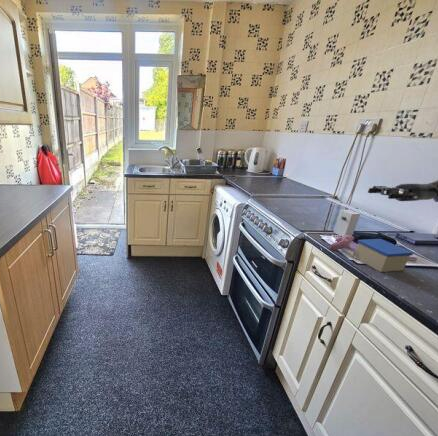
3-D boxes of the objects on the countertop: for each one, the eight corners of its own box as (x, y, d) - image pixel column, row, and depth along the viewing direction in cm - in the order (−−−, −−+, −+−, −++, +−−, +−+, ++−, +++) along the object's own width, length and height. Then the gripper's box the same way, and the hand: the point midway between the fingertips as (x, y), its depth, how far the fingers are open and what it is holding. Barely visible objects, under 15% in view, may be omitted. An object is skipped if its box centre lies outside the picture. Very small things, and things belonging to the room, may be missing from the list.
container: (404, 270, 83) (413, 252, 81) (380, 272, 82) (388, 254, 79) (373, 255, 93) (380, 238, 90) (351, 256, 92) (357, 239, 89)
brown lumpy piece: (338, 255, 95) (353, 244, 90) (327, 247, 97) (341, 235, 93) (344, 248, 101) (359, 237, 97) (334, 240, 103) (348, 229, 99)
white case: (351, 237, 108) (360, 213, 104) (342, 237, 107) (351, 214, 103) (341, 232, 113) (348, 209, 109) (332, 232, 112) (339, 209, 108)
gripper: (396, 180, 112) (365, 180, 110) (434, 188, 99) (400, 189, 97) (390, 196, 115) (360, 196, 112) (426, 205, 102) (393, 207, 99)
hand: (378, 193), depth 104 cm, fingers open, 8 cm apart
